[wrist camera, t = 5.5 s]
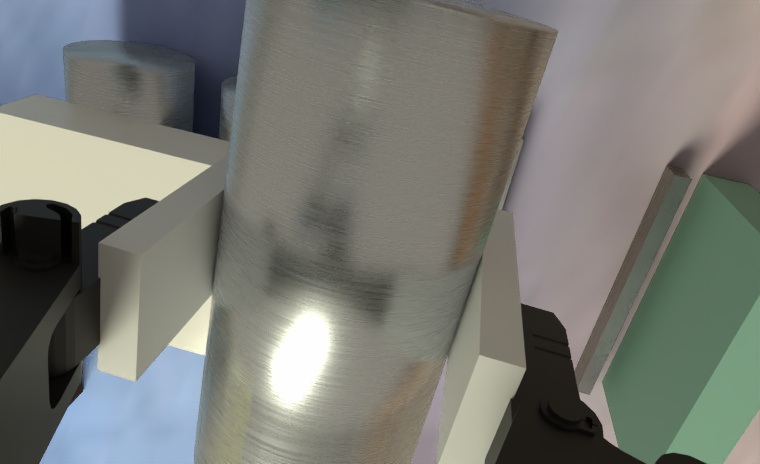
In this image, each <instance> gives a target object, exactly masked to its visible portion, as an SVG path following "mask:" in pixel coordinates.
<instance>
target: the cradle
mask: <svg viewBox="0 0 760 464" xmlns="http://www.w3.org/2000/svg"><path fill="white" fill-rule="evenodd" d="M523 142H524V136H522V139H521V142H520V145H519V148H518V151H517V154H516V157H515V160H514V163H513V165H512V168H511V171H510V174H509V177H508V180H507V183H506V186H505V189H504V192H503V195H502V198H501V201H500V204H499V206H498V209H500V210H502V208H503V205H504V202H505V198H506V195H507V192H508V189H509V186H510V183H511V180H512V176H513V173H514V170H515V167H516V164H517V161H518V157H519V154H520V151H521V148H522V145H523ZM691 180H692V179H691V178H690V177H689V176H688V175H687V174H686V172H685V171H684V170H683V169H680V168H675V167H671V166H666V168H665V170H664V173H663V175H662V177H661V179H660V182H659V184H658V186H657V188H656V191H655V193H654V195H653V197H652V200H651V202H650V204H649V206H648V209H647V211H646V213H645V215H644V217H643V220H642V222H641V224H640V226H639V229H638V231H637V233H636V235H635V238H634V240H633V242H632V244H631V247H630V249H629V251H628V253H627V256H626V258H625V260H624V262H623V264H622V267H621V269H620V271H619V273H618V276H617V278H616V280H615V282H614V285H613V287H612V289H611V291H610V294H609V296H608V298H607V300H606V303H605V305H604V307H603V309H602V311H601V314H600V316H599V318H598V320H597V323H596V325H595V327H594V329H593V332H592V334H591V336H590V338H589V341H588V343H587V345H586V347H585V349H584V352H583V354H582V356H581V358H580V361H579V363H578V365H577V367H576V370H575V372H574V373H575V377H576V382H577V387H578V392H581V393H585V394H589V395H590V393H591V391H592V389H593V387H594V384H595V382H596V380H597V378H598V376H599V374H600V372H601V370H602V368H603V365H604V363H605V361H606V359H607V357H608V355H609V353H610V351H611V349H612V347H613V344H614V342H615V340H616V338H617V336H618V334H619V332H620V330H621V328H622V325H623V323H624V321H625V319H626V317H627V315H628V313H629V311H630V309H631V306H632V304H633V302H634V300H635V298H636V296H637V294H638V292H639V290H640V287H641V285H642V283H643V281H644V279H645V277H646V275H647V273H648V271H649V268H650V266H651V264H652V262H653V260H654V258H655V256H656V254H657V252H658V249H659V247H660V245H661V243H662V241H663V239H664V237H665V235H666V233H667V231H668V228H669V226H670V224H671V222H672V220H673V218H674V216H675V214H676V212H677V209H678V207H679V205H680V203H681V201H682V199H683V197H684V195H685V193H686V190H687V188H688V186H689V184H690V182H691ZM447 357H448V356H447Z"/></svg>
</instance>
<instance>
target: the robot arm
mask: <svg viewBox="0 0 760 464" xmlns="http://www.w3.org/2000/svg"><path fill="white" fill-rule="evenodd" d="M227 161H228V155H227V156H225V157H224V158H222V159H221V160H219V161H218V162H216V163H215V164H213V165H212V166H210V167H209V168H208V169H206V170H205V171H203V172H202V173H200V174H199V175H197V176H196V177H194V178H193V179H191V180H190V181H188V182H187V183H185V184H184V185H183V186H181V187H180V188H178V189H177V190H175V191H174V192H172V193H171V194H169V195H168V196H166V197H165V198H163V199H162V200H160V201H157V200H153V199H150V198H146V197H145V198H141V199H138V200H134V201H130V202H126V203H123V204H122V205H120V206H118V207H117V208H115V209H114V210H112V211H110V212H109V214H108V215H107V214H106V215H104V216H102V217H101V218H99V219H97V220H96V223H95V222H93V223H91V224H89V225H88V226H86V227H85V228H83V229H81V214H80V213H79V211H78V210H77V209H76V208H74V207H72V206H70V205H68V204H66V203H62V202H58V201H54V200H43V199H29V200H18V201H14V202H10V203H6V204H2V205H1V206H0V464H39V463H40V461H41V459H42V457H43V455H44V453H45V451H46V449H47V447H48V445H49V443H50V441H51V439H52V437H53V435H54V433H55V431H56V429H57V427H58V425H59V423H60V422H61V420H62V418H63V416H64V414H65V412H66V410H67V408H68V406H69V404H70V402H71V400H72V398H73V396H74V394H75V392H76V390H77V388H78V386H79V384H80V382H81V378H82V373H83V366H82V360H83V359H84V358H85V357H86V356H87V355H88V354H89V353H90V352H91V351H93V350H94V349H95V348H96V347H97V346H98V370H99V371H102V372H106V373H109V374H112V375H115V376H119V377H122V378H125V379H128V380H132V381H135V382H136V381H137V380H138V378H139V377H140V376H141V375H142V374H143V373H144V372H145V370H146V369H147V368H148V367H149V366H150V365H151V364H152V362H153V361H154V360H155V359H156V358H157V357H158V356H159V354H160V353H161V352H162V351H163V350H164V349H165V348H166V346H167V345H168V344H169V343H170V342H171V341H172V340H173V338H174V337H175V336H176V335H177V334H178V333H179V332H180V330H181V329H182V328H183V327H184V326H185V325H186V324H187V322H188V321H189V320H190V319H191V318H192V317H193V316H194V315H195V313H196V312H197V311H198V310H199V309H200V308H201V307H202V305H203V304H204V303H205V302H206V301H207V300H208V299H209V297H210V296H211V295H212V292H213V283H214V274H215V266H216V257H217V248H218V240H219V231H220V222H221V214H222V205H223V196H224V187H225V179H226V170H227ZM568 345H569V344H568V339H567V334H566V329H565V328H564V326H563V325H562V324H561V322H560V321H559V320H558V318H557V317H556V316H555V315H554V313H552V312H549V311H545V310H542V309H538V308H535V307H531V306H528V305H524V304H521V302H520V291H519V279H518V268H517V256H516V245H515V233H514V222H513V213H510V212H507V211H503V210H500V209H497V212H496V215H495V218H494V221H493V224H492V227H491V230H490V233H489V236H488V239H487V242H486V245H485V247H484V250H483V253H482V256H481V259H480V262H479V265H478V268H477V271H476V274H475V277H474V280H473V283H472V285H471V288H470V291H469V294H468V297H467V300H466V303H465V306H464V309H463V312H462V315H461V318H460V321H459V324H458V326H457V329H456V332H455V335H454V338H453V341H452V344H451V347H450V350H449V353H448V361H447V370H446V379H445V387H444V396H443V405H442V413H441V422H440V431H439V439H438V448H437V456H436V464H646V463H644V462H642V461H640V460H638V459H637V458H635V457H633V456H631V455H629V454H627V453H625V452H624V451H622V450H620V449H619V448H617V447H615V446H614V445H612V444H611V443H609V442H608V441H607V440H606V439H604V438H603V428H602V424H601V422H600V421H599V419H598V417H597V416H596V414H595V413H594V412H593V411H592V410H591V409H590V408H589V407H588V406H587V405H586V404H585V403H584V402H582V401H581V400H580V397H579V392H578V387H577V382H576V377H575V373H574V368H573V363H572V360H571V353H570V349H569V347H568ZM655 464H707V463H705V462H703V461H700V460H698V459H696V458H694V457H691V456H689V455H684V454H679V453H668V454H663V455H661V456H660V458H659V459H658V460H657V461H656V462H655Z"/></svg>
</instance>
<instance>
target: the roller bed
mask: <svg viewBox="0 0 760 464" xmlns="http://www.w3.org/2000/svg"><path fill="white" fill-rule="evenodd" d="M63 62H64V77H65V92H66V102H70V103H74V104H78V105H82V106H86V107H90V108H94V109H98V110H103V111H107V112H111V113H115V114H119V115H123V116H127V117H131V118H135V119H139V120H143V121H147V122H151V123H155V124H160V125H164V126H168V127H172V128H176V129H180V130H184V131H188V132H192V133H193V109H194V83H195V61H194V60H193V59H192V58H191V57H189V56H187V55H185V54H183V53H181V52H178V51H175V50H172V49H168V48H164V47H160V46H155V45H150V44H143V43H136V42H127V41H112V40H93V41H81V42H75V43H71V44H69V45H66V46H65V47H64V48H63ZM236 83H237V76H233V77H229V78H227V79H225V80H224V81H223V82H222V88H221V105H220V122H219V139H221V140H225V141H229V142H230V135H231V127H232V118H233V109H234V101H235V92H236Z"/></svg>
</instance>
